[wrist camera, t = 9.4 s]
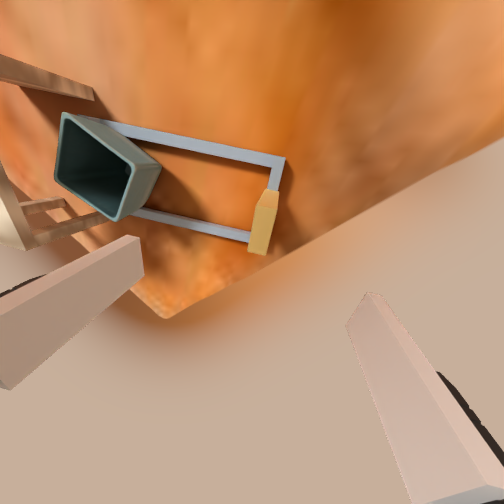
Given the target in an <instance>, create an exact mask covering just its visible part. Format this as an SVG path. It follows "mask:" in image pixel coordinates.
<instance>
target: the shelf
mask: <svg viewBox="0 0 504 504" xmlns="http://www.w3.org/2000/svg"><path fill="white" fill-rule="evenodd" d="M0 81H3V82H7V83H11V84H14V85H18V86H23V87H28V88H33V89H38V90H43V91H47V92H52V93H57V94H62V95H67V96H72V97H77V98H81V99H86V100H91V101H95V100H94V95H93V90H92V87H89V86H86V85H84V84H81V83H78V82H75V81H73V80H70V79H67V78H64V77H62V76H59V75H56V74H54V73H51V72H48V71H45V70H43V69H40V68H37V67H34V66H32V65H29V64H26V63H23V62H21V61H18V60H15V59H12V58H10V57H7V56H4V55H1V54H0ZM64 206H66V204H65V201H64V198H60V197H51V198H45V199H39V200H33V201H28V202H22V203H19V202H18V200H17V198H16V196H15V193H14V191H13V189H12V187H11V184H10V182H9V180H8V177H7V175H6V173H5V171H4V168H3V166H2V164H1V161H0V244H1V245H5V246H9V247H13V248H17V249H21V250H25V251H27V250H30V249H33V248H36V247H38V246H41V245H43V244H46V243H49V242H52V241H55V240H57V239H60V238H63V237H66V236H69V235H71V234H74V233H77V232H79V231H82V230H85V229H88V228H90V227H93V226H96V225H99V224H101V223H104V222H107V221H110V219H109V218H107V217H106V216H104V215H103V214H102V213H100V212H99V211H97V212H94V213H90V214H87V215H83V216H80V217H77V218H73V219H70V220H66V221H63V222H60V223H56V224H53V225H49V226H46V227H42V228H39V229H36V230H32V231H31V230H30V227H29V225H28V223H27V221H26V218H25V215H29V214H33V213H38V212H42V211H47V210H51V209H56V208H60V207H64Z"/></svg>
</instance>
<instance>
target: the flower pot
mask: <svg viewBox="0 0 504 504" xmlns="http://www.w3.org/2000/svg"><path fill="white" fill-rule="evenodd" d="M161 169H162V166H161V165H160V164H159V163H158V162H157V161H155V160H154V159H153V158H152V157H150V156H149V155H148V154H147V153H145V152H144V151H143V150H142V149H140V148H139V147H138V146H136V145H135V144H134V143H133V142H131V141H130V140H129V139H128V138H126V137H125V136H123V135H122V134H120V133H119V132H117V131H115V130H114V129H112V128H110V127H108V126H105V125H103V124H100V123H97V122H94V121H91V120H88V119H85V118H82V117H79V116H76V115H73V114H70V113H67V112H62V115H61V122H60V129H59V139H58V147H57V157H56V163H55V170H54V180H55V181H56V182H57V183H58V184H59V185H61V186H62V187H64V188H65V189H67V190H68V191H70V192H71V193H73V194H74V195H76V196H77V197H78V198H80V199H81V200H83V201H84V202H86V203H87V204H88V205H90V206H91V207H93V208H94V209H96V210H97V211H99V212H100V213H102V214H103V215H104V216H106V217H107V218H109V219H110V220H112V221H114V222H118V221H119V220H121V219H123V218H124V217H126V216H128V215H130V214H131V213H133V212H135V211H137V210H138V209H140V208H141V207H142V206H143V205H144V204H145V203H146V201H147V200H148V198H149V196H150V194H151V192H152V190H153V188H154V185H155V183H156V181H157V178H158V176H159V174H160V172H161Z"/></svg>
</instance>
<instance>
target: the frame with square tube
mask: <svg viewBox="0 0 504 504" xmlns="http://www.w3.org/2000/svg"><path fill="white" fill-rule="evenodd" d="M77 116H79V117H82V118H85V119H88V120H91V121H94V122H97V123H100V124H103V125H105V126H108V127H110V128H112V129H114V130H115V131H117V132H119V133H120V134H122V135H123V136H126V137H131V138H136V139H140V140H145V141H150V142H155V143H159V144H164V145H169V146H173V147H178V148H183V149H187V150H192V151H197V152H201V153H206V154H211V155H215V156H220V157H225V158H229V159H234V160H239V161H243V162H248V163H253V164H258V165H262V166H267V167H272V169H271V173H270V178H269V183H268V187H267V189H265V190H264V192H263V194H262V196H261V197H260V199H259V201H258V203H257V204H256V209H255V214H254V219H253V224H252V229H251V232H249V231H244V230H240V229H236V228H231V227H227V226H223V225H218V224H214V223H210V222H205V221H201V220H197V219H192V218H188V217H184V216H179V215H175V214H171V213H166V212H162V211H158V210H153V209H149V208H145V207H141V208H140V209H138V210H137V211H135V212H133V213H131V214H130V215H132V216H137V217H141V218H145V219H149V220H154V221H158V222H162V223H166V224H171V225H175V226H179V227H183V228H188V229H192V230H196V231H201V232H205V233H209V234H213V235H218V236H222V237H226V238H230V239H235V240H239V241H243V242H247V243H249V245H248V250H247V252H252V253H256V254H260V255H264V256H266V252H267V248H268V244H269V241H270V237H271V233H272V229H273V225H274V221H275V217H276V213H277V208H278V199H279V191H278V187H279V183H280V179H281V175H282V171H283V167H284V163H285V159H286V158H284V157H280V156H275V155H270V154H265V153H261V152H256V151H251V150H246V149H242V148H237V147H232V146H227V145H223V144H218V143H213V142H208V141H204V140H199V139H194V138H189V137H185V136H180V135H175V134H170V133H166V132H161V131H156V130H151V129H147V128H142V127H137V126H132V125H128V124H123V123H118V122H113V121H108V120H104V119H99V118H94V117H89V116H85V115H80V114H77Z"/></svg>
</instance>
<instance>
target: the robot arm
mask: <svg viewBox="0 0 504 504" xmlns="http://www.w3.org/2000/svg"><path fill="white" fill-rule="evenodd" d="M143 276H145V275H144V267H143V260H142V252H141V244H140V237H136V236H131V235H125V236H123V237H121V238H119V239H117V240H115V241H113V242H111V243H109V244H107V245H105V246H103V247H101V248H99V249H97V250H95V251H93V252H91V253H89V254H87V255H85V256H83V257H81V258H79V259H77V260H75V261H73V262H71V263H69V264H67V265H65V266H63V267H61V268H59V269H57V270H55V271H53V272H51V273H49V274H45V275H42V276H39V277H36V278H32V279H29V280H27V281H25V282H23V283H21V284H19V285H17V286H15V287H13V289H11V290H7V291H5V292H3V293H1V294H0V388H4V389H7V390H12V389H13V388H14V387H15V386H16V385H17V384H19V383H20V382H21V381H22V380H23V379H24V378H26V377H27V376H28V375H29V374H30V373H31V372H32V371H34V370H35V369H36V368H37V367H38V366H39V365H41V364H42V363H43V362H44V361H45V360H47V359H48V358H49V357H50V356H51V355H52V354H53V353H55V352H56V351H57V350H58V349H59V348H60V347H62V346H63V345H64V344H65V343H66V342H68V341H69V340H70V339H71V338H72V337H73V336H75V335H76V334H77V333H78V332H79V331H80V330H82V329H83V328H84V327H85V326H86V325H87V324H89V323H90V322H91V321H92V320H93V319H94V318H96V317H97V316H98V315H99V314H100V313H101V312H102V311H104V310H105V309H106V308H107V307H108V306H110V305H111V304H112V303H113V302H114V301H115V300H117V299H118V298H119V297H120V296H121V295H122V294H124V293H125V292H126V291H127V290H128V289H129V288H131V287H132V286H133V285H134V284H135V283H136V282H138V281H139V280H140V279H141V278H142V277H143ZM346 328H347V331H348V333H349V336H350V339H351V341H352V344H353V347H354V349H355V352H356V355H357V358H358V360H359V363H360V366H361V368H362V371H363V374H364V376H365V379H366V382H367V384H368V387H369V390H370V392H371V395H372V398H373V400H374V403H375V406H376V409H377V411H378V414H379V417H380V419H381V422H382V425H383V427H384V430H385V433H386V436H387V438H388V441H389V444H390V446H391V449H392V452H393V454H394V457H395V460H396V463H397V465H398V468H399V471H400V473H401V476H402V478H403V481H404V484H405V486H406V489H407V492H408V495H409V498H410V500H411V503H412V504H504V452H503V451H502V449H501V448H500V446H499V445H498V444H497V442H496V441H495V440H494V439H493V437H492V436H491V434H490V433H489V432H488V430H487V429H486V428H485V427H484V426H482V425H481V421H480V420H479V418H478V417H477V416H476V414H475V413H474V412H473V410H471V409H469V405H468V404H467V402H466V401H465V400H464V398H463V397H462V396H461V395H460V393H459V392H458V390H457V389H456V388H455V387H454V386H453V385H452V384H451V383H450V382H449V381H448V380H447V379H446V378H445V377H444V376H443V375H442V374H441V373H440V372H436V371H435V370H434V369H433V367H432V366H431V364H430V363H429V362H428V360H427V359H426V357H425V356H424V355H423V353H422V352H421V350H420V349H419V347H418V346H417V345H416V343H415V342H414V340H413V339H412V338H411V336H410V335H409V333H408V332H407V331H406V329H405V328H404V326H403V325H402V324H401V322H400V321H399V319H398V318H397V317H396V315H395V314H394V312H393V311H392V309H391V308H390V307H389V305H388V304H387V302H386V301H385V300H384V298H383V297H382V296H381V295H378V294H374V293H369V292H367V293H366V295H365V296H364V298H363V299H362V301H361V302H360V304H359V305H358V307H357V309H356V310H355V312H354V313H353V315H352V317H351V318H350V320H349V321H348V323H347V324H346Z"/></svg>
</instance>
